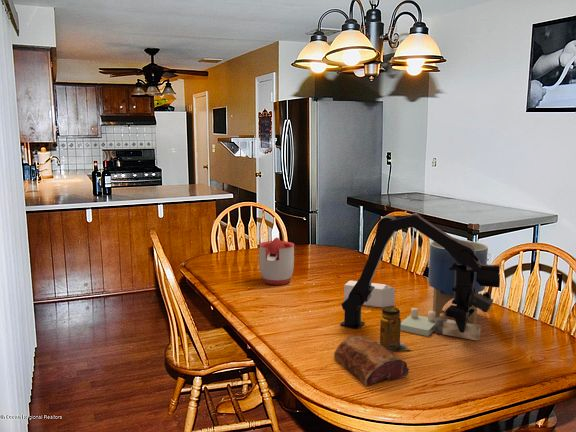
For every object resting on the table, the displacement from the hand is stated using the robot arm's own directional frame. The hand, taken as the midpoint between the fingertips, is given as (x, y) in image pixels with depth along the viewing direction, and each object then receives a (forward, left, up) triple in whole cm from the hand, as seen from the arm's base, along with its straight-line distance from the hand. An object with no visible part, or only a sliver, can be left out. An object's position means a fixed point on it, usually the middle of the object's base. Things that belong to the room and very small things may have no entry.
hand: (462, 332), depth 163 cm
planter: (+21, +8, -3) cm, 23 cm away
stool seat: (+4, +15, -3) cm, 15 cm away
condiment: (-17, +16, -3) cm, 24 cm away
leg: (+3, +2, -2) cm, 4 cm away
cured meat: (-31, +18, -3) cm, 36 cm away
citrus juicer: (+23, +86, -3) cm, 89 cm away
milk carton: (+17, +49, +1) cm, 52 cm away
